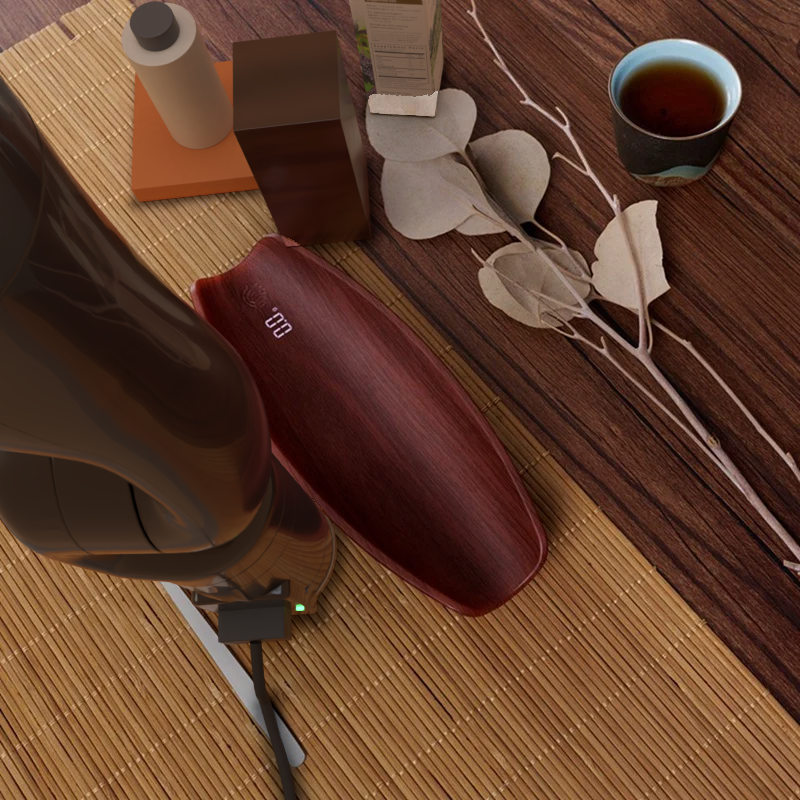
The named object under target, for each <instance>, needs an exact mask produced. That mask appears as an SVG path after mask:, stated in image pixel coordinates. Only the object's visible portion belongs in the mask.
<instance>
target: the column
mask: <svg viewBox="0 0 800 800" xmlns="http://www.w3.org/2000/svg"><path fill="white" fill-rule="evenodd" d="M232 61H233V132H234V134H235V136H236V139H237V141H238V143H239V145H240V147H241V150H242V152H243V154H244V156H245V158H246V161H247V163H248V165H249V167H250V169H251V172H252V174H253V176H254V178H255V181H256V183H257V185H258V187H259V189H258V190H259V191H260V194H261V196H262V198H263V200H264V203H265V205H266V207H267V209H268V211H269V213H270V216H271V218H272V220H273V222H274V225H275V227H276V228H277V231H278V233H279V236H280V235H283V236H285V237H287V238H290V239H292V240H294V241H295V242H297V243H298V244H300V245H302V246H301V247H305V246H314V245H325V244H326V245H327V244H334V243H336V244H337V243H344V242H354V241H363V240H371V239H372V223H371V221H372V220H371V207H370V190H369V189H370V188H369V173H368V162H367V158H366V153H365V149H364V145H363V141H362V136H361V132H360V128H359V124H358V123H359V122H358V119H357V115H356V110H355V106H354V102H353V97H352V93H351V89H350V86H349V80H348V76H347V72H346V68H345V63H344V60H343V55H342V51H341V47H340V41H339V38H338V34H337V29H333V30H332V29H331V30H324V31H323V30H322V31H315V32H308V33H307V32H306V33H297V34H292V35H281V36H273V37H267V38H257V39H250V40H241V41H240V40H239V41H233V42H232Z"/></svg>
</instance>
